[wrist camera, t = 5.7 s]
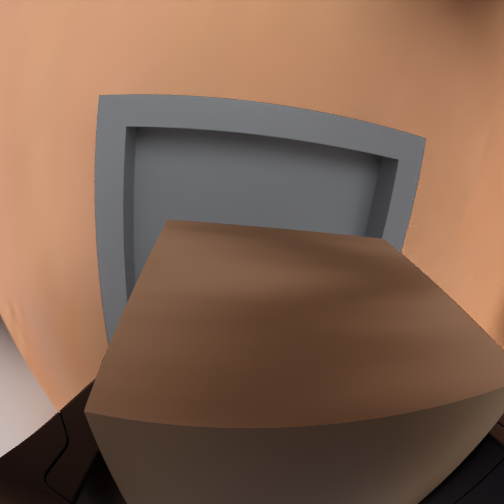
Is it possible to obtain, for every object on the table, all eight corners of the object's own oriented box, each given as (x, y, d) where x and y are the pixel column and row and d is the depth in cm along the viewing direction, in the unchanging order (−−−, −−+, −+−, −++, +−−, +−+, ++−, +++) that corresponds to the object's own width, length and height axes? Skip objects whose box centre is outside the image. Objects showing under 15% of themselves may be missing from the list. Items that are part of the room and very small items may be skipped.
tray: (398, 134, 14) (425, 138, 11) (342, 354, 19) (354, 380, 16) (118, 98, 12) (99, 95, 10) (123, 344, 17) (113, 373, 15)
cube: (383, 239, 9) (528, 377, 3) (334, 389, 11) (385, 528, 6) (167, 219, 8) (84, 411, 2) (170, 386, 10) (154, 547, 5)
